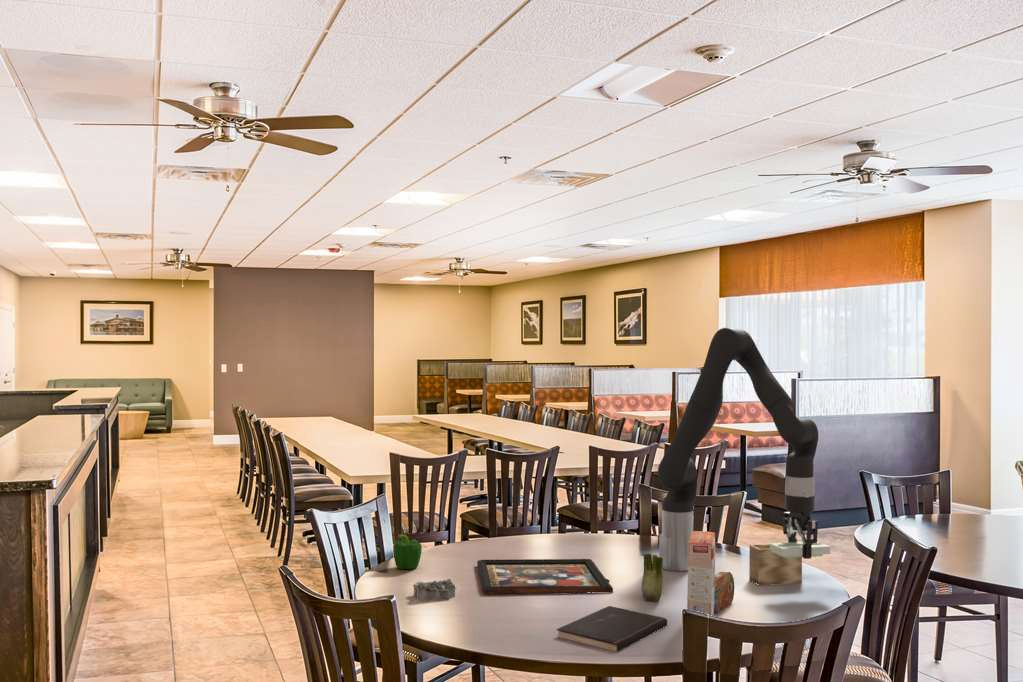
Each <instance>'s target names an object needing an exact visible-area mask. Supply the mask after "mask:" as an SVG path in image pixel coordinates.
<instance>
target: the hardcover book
mask: <svg viewBox="0 0 1023 682" xmlns="http://www.w3.org/2000/svg"><path fill="white" fill-rule="evenodd" d="M665 626H666V627H667V626H668V619H667V618H666V617H662V616H658V615H653V614H649V613H643V612H639V611H635V610H630V609H626V608H620V607H618V606H613V605H612V606H611V605H609V606H606V607H603V608H601V609H599V610H597V611H594V612H592V613H590V614H587V615H585V616H582V617H581V618H579V619H576V620H574V621H572V622H569V623H567V624H565V625H562V626H561V627H558V628H557V629H556V631H558V633H557V634H558V635H557V636H558V638H561V639H565V640H569V641H574V642H577V643H582V644H585V645H588V646H594V647H597V648H601V649H606V650H609V651H613V652H617V653H619V652H620V651H622V650H623V649H626V648H628V647H630V646H631V644H632V645H633V643H634V644H635V643H637V642H639V641H641V640H643V639H645V638H647V637H648V635H649V636H650V634H651V635H652V634H654V633H656V632H658V631H660V630H662V629H664V628H666V627H665ZM663 627H664V628H663ZM661 628H662V629H661ZM659 629H660V630H659ZM657 630H658V631H657ZM655 631H656V632H655ZM653 632H654V633H653ZM646 636H647V637H646ZM644 637H645V638H644ZM642 638H643V639H642ZM640 639H641V640H640Z"/></svg>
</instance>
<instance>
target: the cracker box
mask: <svg viewBox="0 0 1023 682" xmlns="http://www.w3.org/2000/svg"><path fill="white" fill-rule="evenodd" d="M715 575H716V533H715V532H711V531H704V530H703V531H700V530H693V531H692V534H691V537H690V540H689V543H688V570H687V597H686V598H687V599H686V600H687V604H686V605H687V606H686V607H687V609H686V611H687V610H693V611H699V612H703V613H707V614H709V615H712V616H714V615H715V612H714V589H715Z"/></svg>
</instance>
